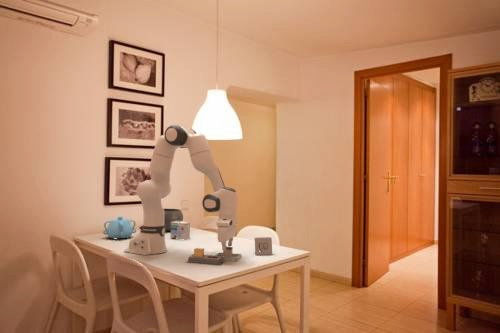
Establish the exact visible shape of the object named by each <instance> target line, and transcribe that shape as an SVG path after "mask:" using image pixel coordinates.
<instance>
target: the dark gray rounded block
mask: <svg viewBox="0 0 500 333" xmlns="http://www.w3.org/2000/svg"><path fill="white" fill-rule="evenodd" d="M163 209H164V211H165V217H164V225H165V232H171V222H174V221H184V214H183V212H182V210H181V209H179V208H163Z"/></svg>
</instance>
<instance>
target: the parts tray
mask: <svg viewBox="0 0 500 333" xmlns="http://www.w3.org/2000/svg"><path fill="white" fill-rule="evenodd" d="M214 256H223V252H217V253H216V254H214ZM242 257H243V256H242V254H241V253H233V252H232V257H231V258H230V257H224V256H223V261H226V262H232V263H233V262H235V263H236V262H238V261H239V260H240V259H242Z"/></svg>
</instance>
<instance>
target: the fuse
mask: <svg viewBox="0 0 500 333" xmlns="http://www.w3.org/2000/svg"><path fill="white" fill-rule="evenodd" d="M193 249H194V250H193V254H194V257H204V255H205V248H200V247H198V248H197V247H196V248H193Z"/></svg>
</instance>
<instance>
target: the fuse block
mask: <svg viewBox="0 0 500 333" xmlns="http://www.w3.org/2000/svg"><path fill="white" fill-rule="evenodd" d="M223 257H224V256H215V254H214V255H212V254H204V257H194V253H193V254H191V255H190V256H188V259H187V261H185V262H184V263H186V264H196V265H207V266H208V265H210V266H217V267H218V266H220V267H221V266H223V264H225V263H227V261H223Z"/></svg>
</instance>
